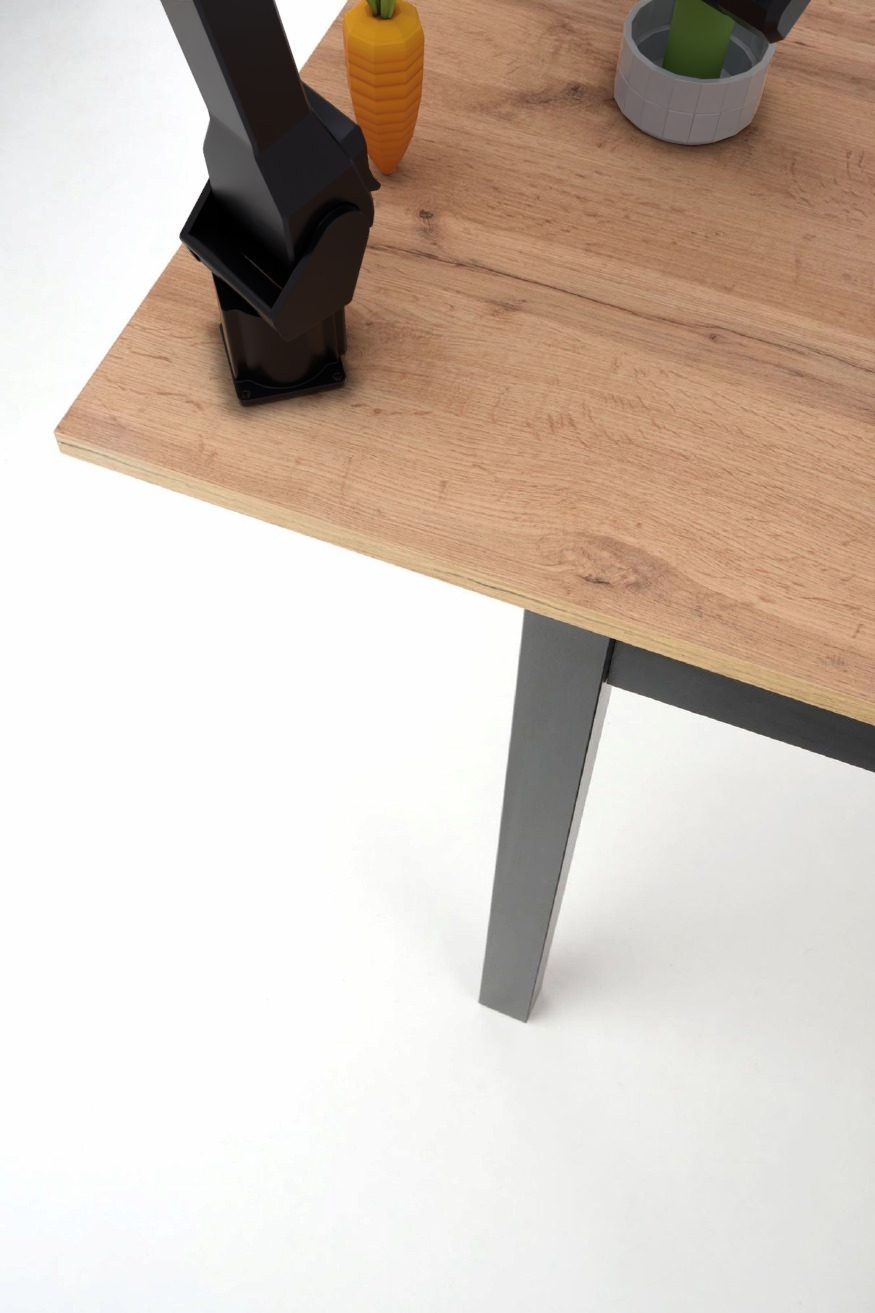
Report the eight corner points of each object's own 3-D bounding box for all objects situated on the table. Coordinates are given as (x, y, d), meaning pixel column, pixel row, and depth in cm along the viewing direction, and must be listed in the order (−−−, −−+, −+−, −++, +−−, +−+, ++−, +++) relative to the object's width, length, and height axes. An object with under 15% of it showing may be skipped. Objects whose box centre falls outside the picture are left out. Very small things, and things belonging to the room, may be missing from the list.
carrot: (415, 204, 76) (415, -21, 63) (341, 192, 77) (326, -33, 64) (430, 153, 79) (434, -74, 65) (358, 142, 79) (348, -86, 66)
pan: (642, 160, 79) (655, 94, 74) (593, 66, 83) (603, -2, 79) (778, 136, 80) (800, 70, 76) (723, 44, 85) (740, -23, 80)
